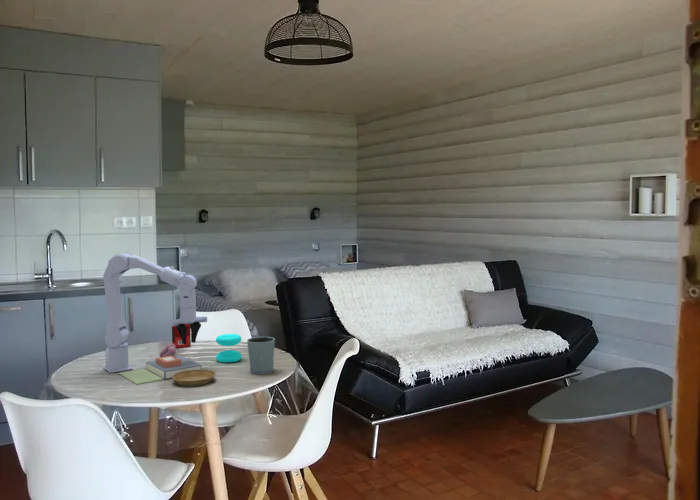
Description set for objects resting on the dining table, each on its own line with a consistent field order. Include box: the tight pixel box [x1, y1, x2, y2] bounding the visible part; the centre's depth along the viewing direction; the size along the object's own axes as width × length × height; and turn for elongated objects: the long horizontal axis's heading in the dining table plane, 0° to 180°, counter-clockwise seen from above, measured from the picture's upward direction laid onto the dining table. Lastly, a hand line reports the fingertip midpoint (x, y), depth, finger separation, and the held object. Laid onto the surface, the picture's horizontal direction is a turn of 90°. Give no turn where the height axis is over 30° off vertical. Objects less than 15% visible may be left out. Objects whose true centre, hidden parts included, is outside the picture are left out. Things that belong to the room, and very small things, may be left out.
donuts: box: [215, 333, 243, 364], centre depth 241 cm, size 10×10×10 cm
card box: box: [155, 355, 181, 368], centre depth 222 cm, size 9×6×2 cm, turn 39°
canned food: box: [171, 322, 192, 349], centre depth 267 cm, size 8×8×11 cm
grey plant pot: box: [246, 336, 276, 375], centre depth 224 cm, size 10×10×12 cm
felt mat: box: [118, 368, 164, 386], centre depth 217 cm, size 18×9×1 cm, turn 39°
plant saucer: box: [171, 369, 217, 387], centre depth 210 cm, size 15×15×3 cm
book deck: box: [145, 355, 203, 380], centre depth 224 cm, size 18×14×3 cm
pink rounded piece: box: [159, 343, 177, 357], centre depth 245 cm, size 10×5×7 cm, turn 22°
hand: (188, 343), depth 227 cm, fingers open, 3 cm apart
